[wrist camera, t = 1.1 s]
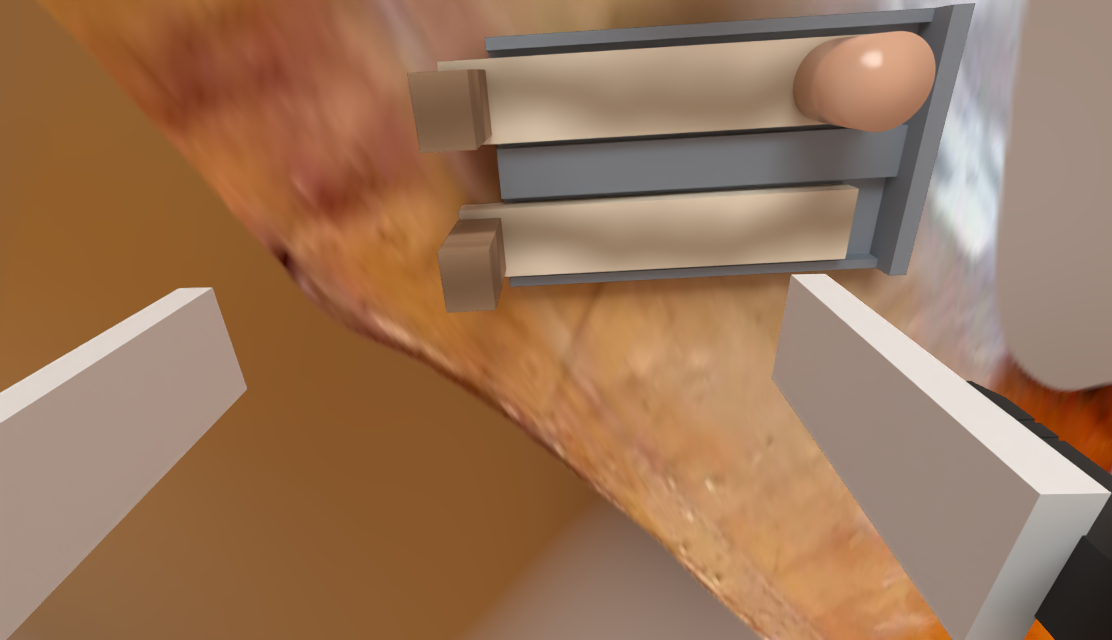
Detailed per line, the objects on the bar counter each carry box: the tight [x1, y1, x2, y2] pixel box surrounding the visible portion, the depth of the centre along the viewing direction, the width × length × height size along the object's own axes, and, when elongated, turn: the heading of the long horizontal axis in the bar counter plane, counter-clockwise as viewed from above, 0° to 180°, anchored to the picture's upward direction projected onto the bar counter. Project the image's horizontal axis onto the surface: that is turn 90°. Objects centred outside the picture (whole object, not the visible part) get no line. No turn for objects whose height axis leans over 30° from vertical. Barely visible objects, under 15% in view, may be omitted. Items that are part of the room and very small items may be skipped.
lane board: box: [485, 3, 975, 287], centre depth 30 cm, size 14×24×3 cm, turn 93°
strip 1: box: [407, 33, 878, 153], centre depth 25 cm, size 4×23×8 cm, turn 93°
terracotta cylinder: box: [793, 31, 936, 132], centre depth 25 cm, size 4×4×5 cm
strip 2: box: [437, 183, 859, 313], centre depth 29 cm, size 4×23×8 cm, turn 93°
